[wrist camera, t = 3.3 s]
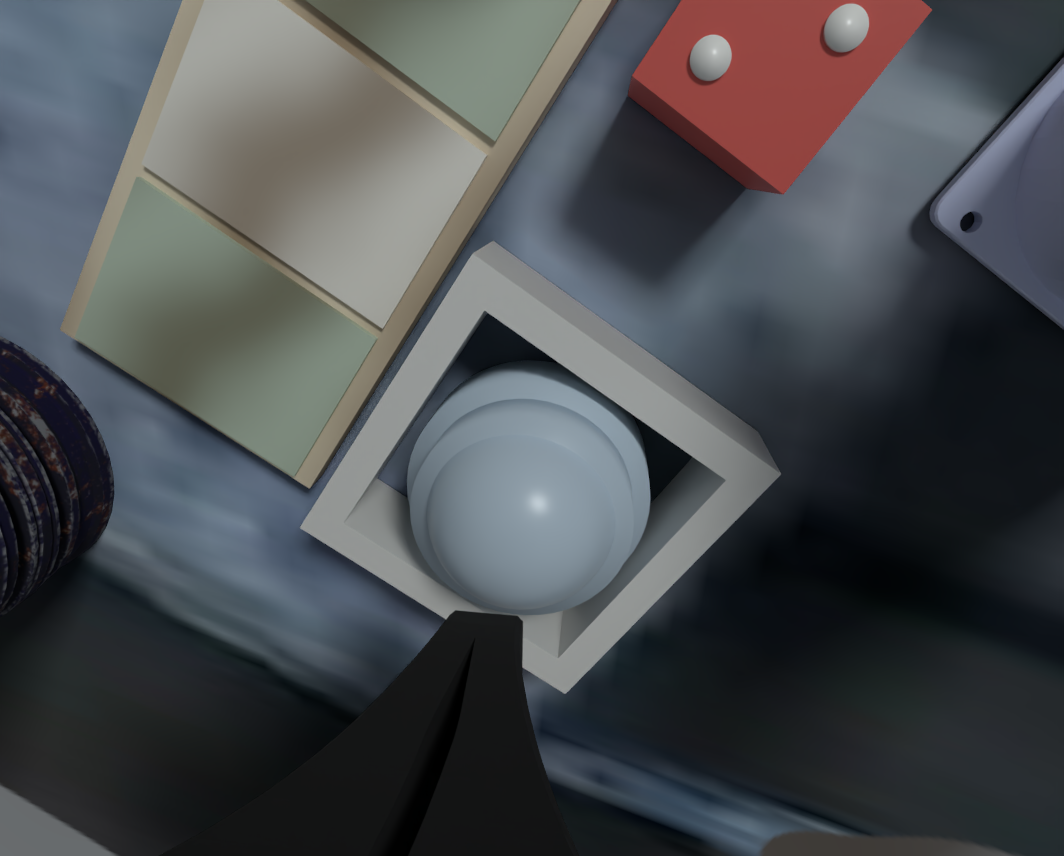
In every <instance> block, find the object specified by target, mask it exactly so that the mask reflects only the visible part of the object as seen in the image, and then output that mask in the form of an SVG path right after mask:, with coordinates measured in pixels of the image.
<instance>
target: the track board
mask: <svg viewBox="0 0 1064 856" xmlns="http://www.w3.org/2000/svg"><path fill="white" fill-rule="evenodd" d="M616 2H617V0H183V1H182V4H181V6H180V9H179V12H178V14H177V17H176V20H175V22H174V25H173V28H172V30H171V33H170V36H169V38H168V41H167V44H166V46H165V49H164V52H163V55H162V57H161V60H160V63H159V65H158V68H157V71H156V73H155V76H154V79H153V81H152V84H151V87H150V89H149V92H148V95H147V97H146V100H145V103H144V106H143V108H142V111H141V114H140V116H139V119H138V122H137V124H136V127H135V130H134V132H133V135H132V138H131V140H130V143H129V146H128V148H127V151H126V154H125V157H124V159H123V162H122V165H121V167H120V170H119V173H118V175H117V178H116V181H115V183H114V186H113V189H112V191H111V194H110V197H109V199H108V202H107V205H106V208H105V210H104V213H103V216H102V218H101V221H100V224H99V226H98V229H97V232H96V234H95V237H94V240H93V242H92V245H91V248H90V250H89V253H88V256H87V258H86V261H85V264H84V267H83V269H82V272H81V275H80V277H79V280H78V283H77V285H76V288H75V291H74V293H73V296H72V299H71V301H70V304H69V307H68V309H67V312H66V315H65V318H64V320H63V323H62V326H61V328H60V330H61V331H62V332H64V333H66V334H67V335H69V336H70V337H72V338H73V339H75V340H77V341H78V342H80V343H81V344H83V345H84V346H86V347H88V348H89V349H91V350H92V351H94V352H95V353H97V354H99V355H100V356H102V357H103V358H105V359H106V360H108V361H110V362H111V363H113V364H114V365H116V366H117V367H119V368H121V369H122V370H124V371H125V372H127V373H128V374H130V375H132V376H133V377H135V378H136V379H138V380H139V381H141V382H143V383H144V384H146V385H147V386H149V387H150V388H152V389H154V390H155V391H157V392H158V393H160V394H161V395H163V396H165V397H166V398H168V399H169V400H171V401H172V402H174V403H176V404H177V405H179V406H180V407H182V408H183V409H185V410H187V411H188V412H190V413H191V414H193V415H194V416H196V417H198V418H199V419H201V420H202V421H204V422H205V423H207V424H209V425H210V426H212V427H213V428H215V429H216V430H218V431H220V432H221V433H223V434H224V435H226V436H227V437H229V438H231V439H232V440H234V441H235V442H237V443H238V444H240V445H242V446H243V447H245V448H246V449H248V450H249V451H251V452H253V453H254V454H256V455H257V456H259V457H260V458H262V459H264V460H265V461H267V462H268V463H270V464H271V465H273V466H275V467H276V468H278V469H279V470H281V471H282V472H284V473H286V474H287V475H289V476H290V477H292V478H293V479H295V480H297V481H298V482H300V483H301V484H303V485H304V486H306V487H308V488H309V489H310V488H311V487H312V486H313V485H314V484H315V483H316V481H317V480H318V479H319V478H320V477H321V476H322V475H323V473H324V472H325V470H326V468H327V467H328V465H329V464H330V462H331V460H332V459H333V457H334V456H335V454H336V452H337V451H338V449H339V447H340V446H341V444H342V443H343V441H344V439H345V438H346V436H347V435H348V433H349V431H350V430H351V428H352V427H353V425H354V423H355V422H356V420H357V419H358V417H359V415H360V414H361V412H362V410H363V409H364V407H365V406H366V404H367V402H368V401H369V399H370V398H371V396H372V394H373V393H374V391H375V390H376V388H377V386H378V385H379V383H380V382H381V380H382V378H383V377H384V375H385V374H386V372H387V370H388V369H389V367H390V365H391V364H392V362H393V361H394V359H395V357H396V356H397V354H398V353H399V351H400V349H401V348H402V346H403V345H404V343H405V341H406V340H407V338H408V337H409V335H410V333H411V332H412V330H413V328H414V327H415V325H416V324H417V322H418V320H419V319H420V317H421V316H422V314H423V312H424V311H425V309H426V308H427V306H428V304H429V303H430V301H431V300H432V298H433V296H434V295H435V293H436V291H437V290H438V288H439V287H440V285H441V283H442V282H443V280H444V279H445V277H446V275H447V274H448V272H449V271H450V269H451V267H452V266H453V264H454V263H455V261H456V259H457V258H458V256H459V254H460V253H461V251H462V250H463V248H464V246H465V245H466V243H467V242H468V240H469V238H470V237H471V235H472V234H473V232H474V230H475V229H476V227H477V226H478V224H479V222H480V221H481V219H482V217H483V216H484V214H485V213H486V211H487V209H488V208H489V206H490V205H491V203H492V201H493V200H494V198H495V197H496V195H497V193H498V192H499V190H500V189H501V187H502V185H503V184H504V182H505V180H506V179H507V177H508V176H509V174H510V172H511V171H512V169H513V168H514V166H515V164H516V163H517V161H518V160H519V158H520V156H521V155H522V153H523V152H524V150H525V148H526V147H527V145H528V144H529V142H530V140H531V139H532V137H533V135H534V134H535V132H536V131H537V129H538V127H539V126H540V124H541V123H542V121H543V119H544V118H545V116H546V115H547V113H548V111H549V110H550V108H551V107H552V105H553V103H554V102H555V100H556V98H557V97H558V95H559V94H560V92H561V90H562V89H563V87H564V86H565V84H566V82H567V81H568V79H569V78H570V76H571V74H572V73H573V71H574V70H575V68H576V66H577V65H578V63H579V61H580V60H581V58H582V57H583V55H584V53H585V52H586V50H587V49H588V47H589V45H590V44H591V42H592V41H593V39H594V37H595V36H596V34H597V33H598V31H599V29H600V28H601V26H602V24H603V23H604V21H605V20H606V18H607V16H608V15H609V13H610V12H611V10H612V8H613V7H614V5H615V4H616Z"/></svg>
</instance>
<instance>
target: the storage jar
mask: <svg viewBox="0 0 1064 856" xmlns="http://www.w3.org/2000/svg"><path fill="white" fill-rule="evenodd" d="M113 498H114V481H113V472H112V467H111V463H110V458H109V455H108V452H107V449H106V447H105V444H104V441H103V438H102V436H101V434H100V432H99V430H98V428H97V427H96V425H95V423H94V421H93V419H92V417H91V416H90V414H89V413H88V411H87V410H86V408H85V407H84V406H83V404H82V403H81V401H80V400H79V398H78V397H77V396H76V395H75V394H74V393H73V391H72V390H71V389H70V388H69V387H68V386H67V385H66V384H65V382H64V381H63V380H62V379H61V378H60V377H59V376H57V375H56V374H55V373H54V372H53V371H52V370H51V369H50V368H48V367H47V366H46V365H45V364H44V363H43V362H41V361H40V360H39V359H37V358H36V357H34V356H33V355H31V354H30V353H29V352H27V351H26V350H24V349H23V348H21V347H19V346H17V345H16V344H14V343H12V342H10V341H8V340H6V339H5V338H3V337H0V617H1V616H3V615H4V614H6V613H7V612H9V611H10V610H12V609H13V608H14V607H15V606H17V605H18V604H20V603H21V602H22V601H24V600H25V599H26V598H27V597H29V596H31V595H32V594H33V593H34V592H35V591H36V590H37V589H38V588H39V587H40V586H41V585H42V584H43V583H44V582H45V581H46V580H47V579H48V578H49V577H51V576H52V575H53V574H55V573H56V571H57V570H58V569H59V568H60V567H61V566H64V565H66V564H67V563H69V562H70V561H72V560H74V559H75V558H77V557H78V556H79V555H81V554H82V553H84V552H85V551H86V550H88V549H89V548H90V547H91V546H92V545H93V544H94V543H95V542H96V541H97V540H98V539H99V537H100V536H101V534H102V532H103V531H104V529H105V527H106V526H107V523H108V520H109V517H110V514H111V512H112V506H113Z"/></svg>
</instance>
